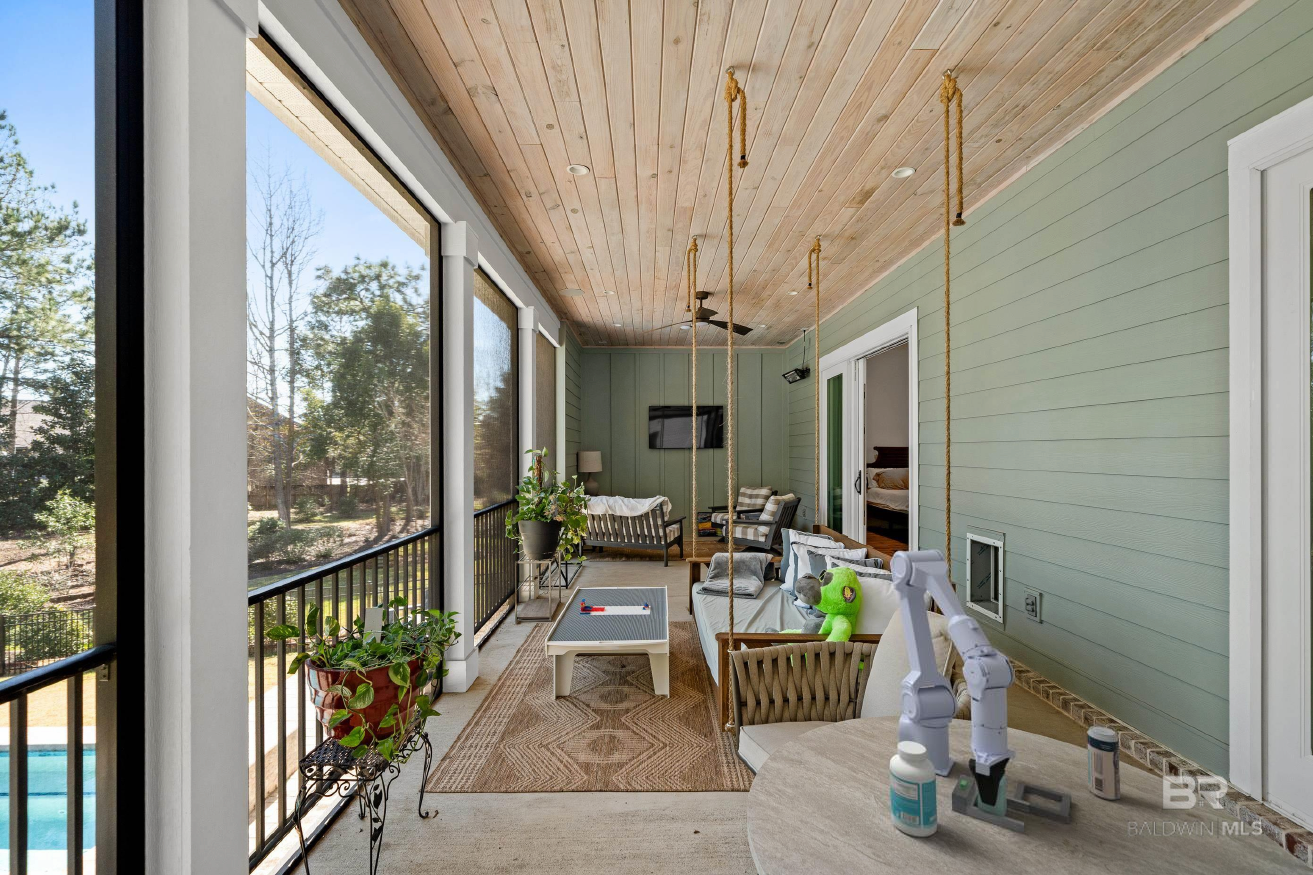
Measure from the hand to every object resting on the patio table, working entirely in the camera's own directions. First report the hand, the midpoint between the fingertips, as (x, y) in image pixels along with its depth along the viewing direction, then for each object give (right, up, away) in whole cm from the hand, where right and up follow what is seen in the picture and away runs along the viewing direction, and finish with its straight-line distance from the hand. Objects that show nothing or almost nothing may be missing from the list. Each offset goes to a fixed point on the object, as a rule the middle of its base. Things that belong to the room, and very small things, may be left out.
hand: (990, 797), depth 107 cm
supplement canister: (+24, -3, +5) cm, 25 cm away
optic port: (0, -2, 0) cm, 2 cm away
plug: (0, -2, 0) cm, 2 cm away
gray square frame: (+10, -2, +2) cm, 11 cm away
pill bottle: (-16, -3, -4) cm, 17 cm away
